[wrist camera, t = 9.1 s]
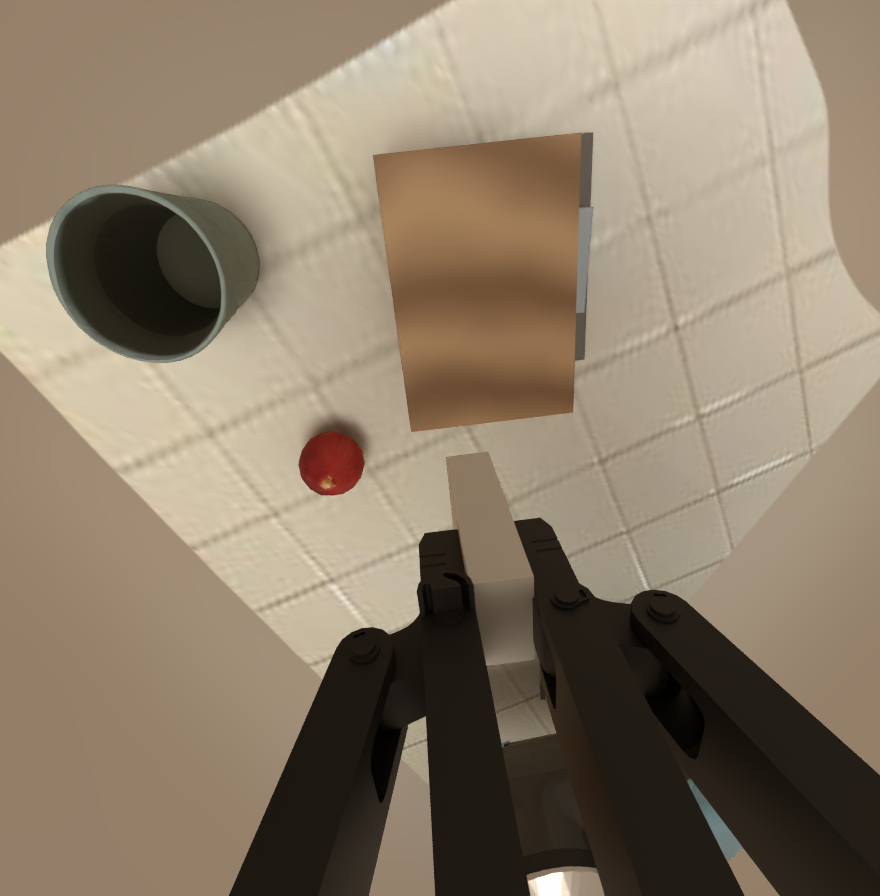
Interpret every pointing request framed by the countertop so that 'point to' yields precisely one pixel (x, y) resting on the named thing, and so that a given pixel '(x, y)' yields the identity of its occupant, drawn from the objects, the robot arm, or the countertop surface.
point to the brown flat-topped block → (484, 277)
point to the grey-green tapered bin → (149, 270)
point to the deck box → (583, 255)
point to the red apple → (331, 463)
